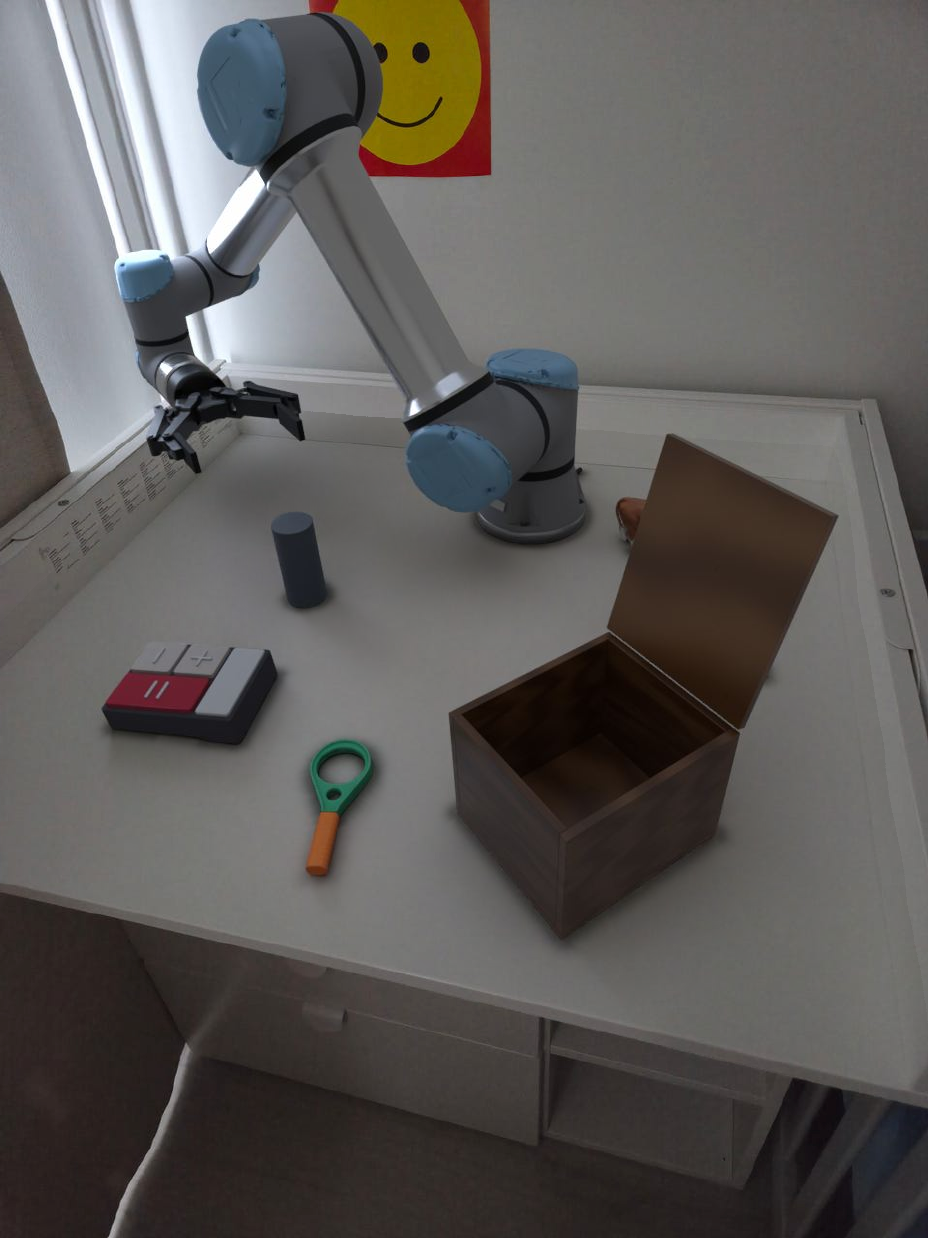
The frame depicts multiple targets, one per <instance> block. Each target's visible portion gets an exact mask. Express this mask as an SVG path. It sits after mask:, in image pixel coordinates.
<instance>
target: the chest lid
mask: <svg viewBox="0 0 928 1238" xmlns="http://www.w3.org/2000/svg"><path fill="white" fill-rule="evenodd" d="M645 500H646V502H645V506H644V509H643V512H642V515H641V519H640V522H639V525H638V528H637V531H636V535H635V538H634V541H633V544H632V547H631V548H630V551H629V554H628V557H627V561H626V564H625V568H624V570H623V573H622V577H621V580H620V584H619V586H618V590H617V593H616V596H615V599H614V603H613V606H612V608H611V609H612V610H611V612H610V616H609V619H608V622H607V625H606V629H607V630H608V631H609V632H610V633H612V634H613V635H614V636H616V637H617V638H618V639H620V640H621V641H622V642H623V643H625V644H626V645H627V646H629V647H630V648H631V649H632V650H634V651H635V652H636V653H638V654H639V655H640V656H641V657H643V658H644V659H645V660H647V661H648V662H649V663H650V664H652V665H653V666H654V667H656V668H657V669H658V670H659V671H661V672H662V673H663V674H665V675H666V676H667V677H668V678H670V679H671V680H672V681H674V682H675V683H676V684H677V685H679V686H680V687H681V688H683V689H684V690H685V691H687V692H688V693H689V694H690V695H692V696H693V697H694V698H696V699H697V700H698V701H699V702H701V703H702V704H703V705H705V706H706V707H707V708H708V709H710V710H711V711H712V712H714V713H715V714H716V715H717V716H719V717H720V718H721V719H723V720H724V721H725V722H726V723H728V724H729V725H730V726H732V727H733V728H734V729H736V730H737V731H739V730H742V729H745V728H746V726H747V722H748V721H749V719H750V716H751V714H752V712H753V710H754V707H755V705H756V703H757V701H758V699H759V696H760V694H761V692H762V689H763V687H764V685H765V682H766V680H767V679H768V676H769V674H770V672H771V669H772V668H773V665H774V662H775V660H776V658H777V655H778V654H779V652H780V648H781V646H782V645H783V642H784V640H785V638H786V637H787V636H786V635H787V633H788V631H789V629H790V627H791V624H792V622H793V620H794V618H795V615H796V613H797V611H798V609H799V606H800V604H801V602H802V599H803V597H804V595H805V592H806V591H807V588H808V586H809V584H810V582H811V579H812V578H813V575H814V572H815V571H816V568H817V566H818V564H819V561H820V559H821V557H822V554H823V552H824V550H825V548H826V546H827V544H828V541H829V538H830V537H831V534H832V532H833V530H834V528H835V526H836V524H837V521H838V519H839V516H840V515H839V514H838V513H835V512H833V511H831V510H828V509H827V508H825V507H823V506H821V505H818V504H817V503H815V502H813V501H811V500H808V499H806V498H805V497H802V496H800V495H798V494H797V493H795V492H792V491H791V490H788V489H787V488H785V487H782V486H780V485H778V484H776V483H775V482H773V481H770V480H768V479H766V478H764V477H762V476H760V475H758V474H756V473H754V472H752V471H750V470H749V469H746V468H744V467H742V466H740V465H738V464H736V463H735V462H732V461H730V460H728V459H726V458H723V457H722V456H720V455H718V454H716V453H714V452H712V451H710V450H708V449H706V448H704V447H701V446H700V445H698V444H696V443H693V442H692V441H689V440H688V439H685V438H684V437H682V436H679V435H678V434H676V433H674V432H673V433H666V434H665V438H664V442H663V445H662V448H661V451H660V453H659V457H658V461H657V464H656V467H655V470H654V474H653V476H652V480H651V484H650V487H649V490H648V493H647V497H646V499H645Z"/></svg>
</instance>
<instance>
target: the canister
mask: <svg viewBox="0 0 928 1238" xmlns="http://www.w3.org/2000/svg"><path fill="white" fill-rule="evenodd" d="M270 531H271V534H272V539H273V543H274V547H275V552H276V556H277V560H278V565H279V569H280V573H281V577H282V581H283V587H284V589H285V594H286V598H287V602H288V603H289V604H290V605H291V606H293V607H295V608H299V609H307V608H309V609H310V608H312V607H313V608H314V607H316V606H318V605H319V604H322V603H323V602H324V601H325V600H326V598H327V596H328V591H327V584H326V580H325V579H326V578H325V575H324V570H323V564H322V559H321V554H320V549H319V544H318V539H317V534H316V529H315V524H314V519H313V517H312V515H311V514H309V513H308V512H303V511H288V512H284V513H282V514H279V515H278V516H276V517H274V519H273V520H272V521H271V523H270Z"/></svg>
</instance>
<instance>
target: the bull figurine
mask: <svg viewBox="0 0 928 1238" xmlns="http://www.w3.org/2000/svg"><path fill="white" fill-rule="evenodd" d="M645 502H646V499H643V498H638V497H629V496H624V497H621V498H620V499H618V501H617V502H616V505H615V516H616V520H617V523H618V528H619V535H620V538H621V539H622V541H624V542H626V541H628V542H630V546H631V548H632V544H633V541H634V538H635V535H636V531H637V528H638V525H639V522H640V519H641V515H642V512H643V509H644V506H645Z"/></svg>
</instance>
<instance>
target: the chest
mask: <svg viewBox="0 0 928 1238" xmlns="http://www.w3.org/2000/svg"><path fill="white" fill-rule="evenodd" d="M448 722H449V723H448V725H449V734H450V747H451V760H452V771H453V779H454V780H453V782H454V792H455V794H454V795H455V806H456V813H457V814H458V816H459V817H460V818H461V819H462V820H463V821H464V822H465V823H466V825H467V826H468V828H469V829H470V831H472V833H474V834H475V836H476V837H477V838H478V840H479V841H480V842H481V843H482V845H483V846H484V847H485V848H486V850H488V852H489V853H490V854H491V856H492V857H493V858H494V859H495V861H496V862H497V863H498V864H499V866H500V867H501V868H502V870H504V871H505V873H506V875H508V876H509V878H510V879H511V880H512V881H513V882H514V884H515V885H516V886H517V888H518V889H519V890H520V891H521V892H522V893H523V895H524V896H525V897H526V898H527V900H528V901H529V902H530V903H531V905H532V906H533V907H534V908H535V909H536V911H537V912H538V913H539V914H540V916H541V918H543V919H544V920H545V922H546V923H547V924H548V926H549V927H550V928H551V930H553V932H554V933H555V935H557V936H558V938H559V939H560V940H563V939H565V938H566V937H568V936H569V935H570V934H572V933H573V932H575V931H576V930H578V929H579V928H581V927H582V926H584V925H586V924H587V923H588V922H589V921H591V920H592V919H595V917H597V916H598V915H600V914H601V913H603V912H604V911H606V910H607V909H608V908H610V907H612V906H613V905H614V904H616V903H618V902H619V901H620V900H622V899H623V898H624V897H627V896H628V895H629V894H631V893H632V892H633V891H635V890H636V889H638V888H639V887H641V886H642V885H644V884H645V883H646V882H649V880H651V879H652V878H654V877H655V876H657V875H658V874H660V873H661V872H662V871H665V870H666V869H668V867H670V866H672V865H673V864H674V863H676V862H677V861H679V860H680V859H681V858H683V857H685V856H686V855H687V854H689V853H690V852H692V851H693V850H695V849H696V848H698V847H700V846H701V845H703V843H705V842H706V841H708V840H709V839H711V838H713V837H714V836H716V833H717V829H718V826H719V822H720V817H721V813H722V810H723V809H722V808H723V805H724V801H725V797H726V794H727V789H728V786H729V781H730V777H731V773H732V769H733V765H734V760H735V757H736V751H737V749H738V745H739V744H738V743H739V740H740V737H741V733H740V731H739V730H738V729H736V728H735V727H733V725H731V724H730V723H729V722H727V721H726V720H725V719H724V718H722V717H721V716H720V715H718V714H717V713H716V712H714V711H713V710H712V709H711V708H709V707H708V706H707V705H705V704H704V703H703V702H702V701H700V700H699V699H698V698H696V697H695V696H694V695H693V694H691V693H690V692H689V691H687V690H686V689H685V688H684V687H682V686H681V685H680V684H678V683H677V682H676V681H674V680H673V679H672V678H671V677H669V676H668V675H667V674H665V673H664V672H663V671H662V670H660V669H659V668H658V667H656V666H655V665H654V664H653V663H651V662H650V661H649V660H647V659H646V658H645V657H643V656H642V655H641V654H640V653H638V652H637V651H636V650H634V649H633V648H632V647H631V646H629V645H628V644H627V643H625V642H624V641H623V640H622V639H620V638H619V637H618V636H616V635H615V634H614V633H612V632H611V631H607V632H605V633H603V634H600V635H599V636H597V637H596V638H593V639H591V640H590V641H589V640H588V642H585V643H584V644H582V645H580V646H578V647H575V648H573V649H572V650H570V651H567V652H566V653H564V654H562V655H560V656H557V657H555V658H554V659H552V660H550V661H548V662H546V663H544V664H542V665H540V666H538V667H536V668H534V669H532V670H530V671H528V672H526V673H524V674H522V675H520V676H518V677H516V678H514V679H512V680H510V681H508V682H506V683H504V684H502V685H500V686H499V687H496V688H493V690H491V691H489V692H486V693H484V694H483V695H481V696H478V697H477V698H475V699H472V700H471V701H469V702H467V703H464V704H462V705H461V706H458V707H457V708H455V709H453V710H450V711H449V712H448Z"/></svg>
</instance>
